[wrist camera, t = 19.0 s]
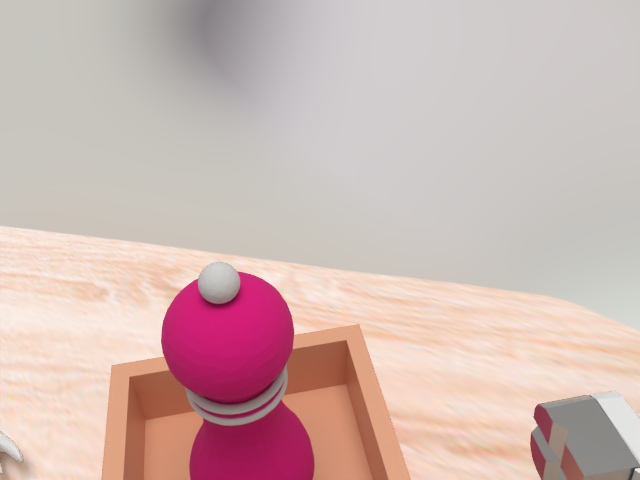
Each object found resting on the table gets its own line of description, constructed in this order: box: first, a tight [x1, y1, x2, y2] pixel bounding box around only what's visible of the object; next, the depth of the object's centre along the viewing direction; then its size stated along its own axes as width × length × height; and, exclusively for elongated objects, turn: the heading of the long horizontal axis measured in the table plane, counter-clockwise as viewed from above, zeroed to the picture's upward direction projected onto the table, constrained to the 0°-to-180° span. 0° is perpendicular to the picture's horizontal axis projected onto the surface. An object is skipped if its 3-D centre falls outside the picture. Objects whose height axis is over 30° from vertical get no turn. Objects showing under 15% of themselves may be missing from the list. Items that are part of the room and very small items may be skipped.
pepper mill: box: [161, 262, 315, 480], centre depth 31 cm, size 7×7×20 cm
